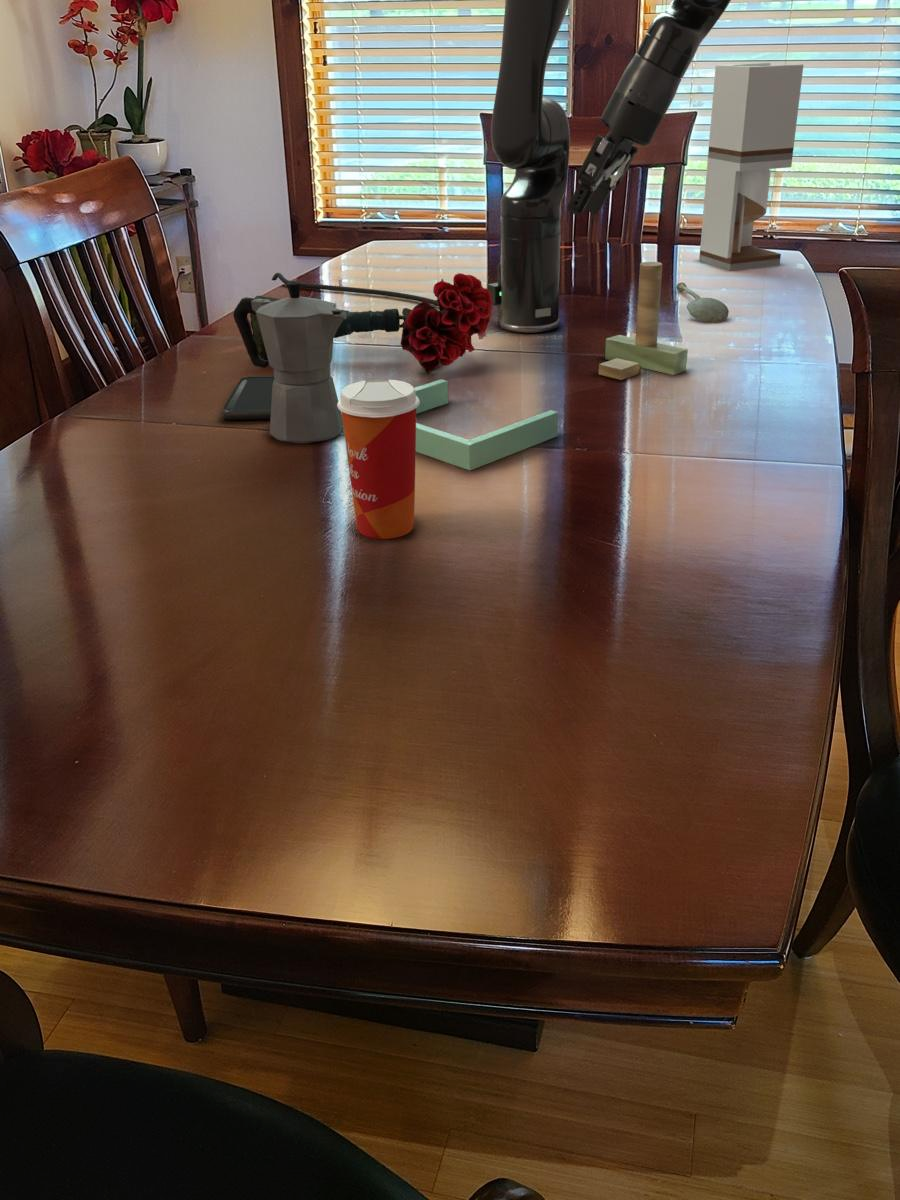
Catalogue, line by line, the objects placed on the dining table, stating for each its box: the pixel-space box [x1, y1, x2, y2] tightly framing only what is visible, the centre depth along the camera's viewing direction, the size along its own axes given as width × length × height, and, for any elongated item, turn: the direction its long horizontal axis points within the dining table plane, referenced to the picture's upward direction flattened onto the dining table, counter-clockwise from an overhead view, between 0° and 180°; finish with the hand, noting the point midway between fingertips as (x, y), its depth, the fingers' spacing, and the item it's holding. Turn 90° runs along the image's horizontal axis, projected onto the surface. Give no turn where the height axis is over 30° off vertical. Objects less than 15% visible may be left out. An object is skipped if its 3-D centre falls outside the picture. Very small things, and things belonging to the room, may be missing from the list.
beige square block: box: [598, 358, 640, 381], centre depth 149 cm, size 4×4×2 cm
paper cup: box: [337, 379, 420, 540], centre depth 103 cm, size 8×8×14 cm
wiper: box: [604, 261, 689, 376], centre depth 150 cm, size 3×12×14 cm, turn 44°
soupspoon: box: [675, 282, 730, 323], centre depth 182 cm, size 22×3×7 cm
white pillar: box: [698, 62, 804, 272], centre depth 204 cm, size 11×11×35 cm
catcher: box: [413, 378, 559, 471], centre depth 129 cm, size 15×20×3 cm
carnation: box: [249, 272, 493, 373], centre depth 154 cm, size 16×18×35 cm
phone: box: [221, 375, 275, 421], centre depth 142 cm, size 8×1×15 cm
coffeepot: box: [232, 280, 347, 444], centre depth 128 cm, size 15×9×18 cm, turn 65°
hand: (582, 212), depth 153 cm, fingers open, 8 cm apart
